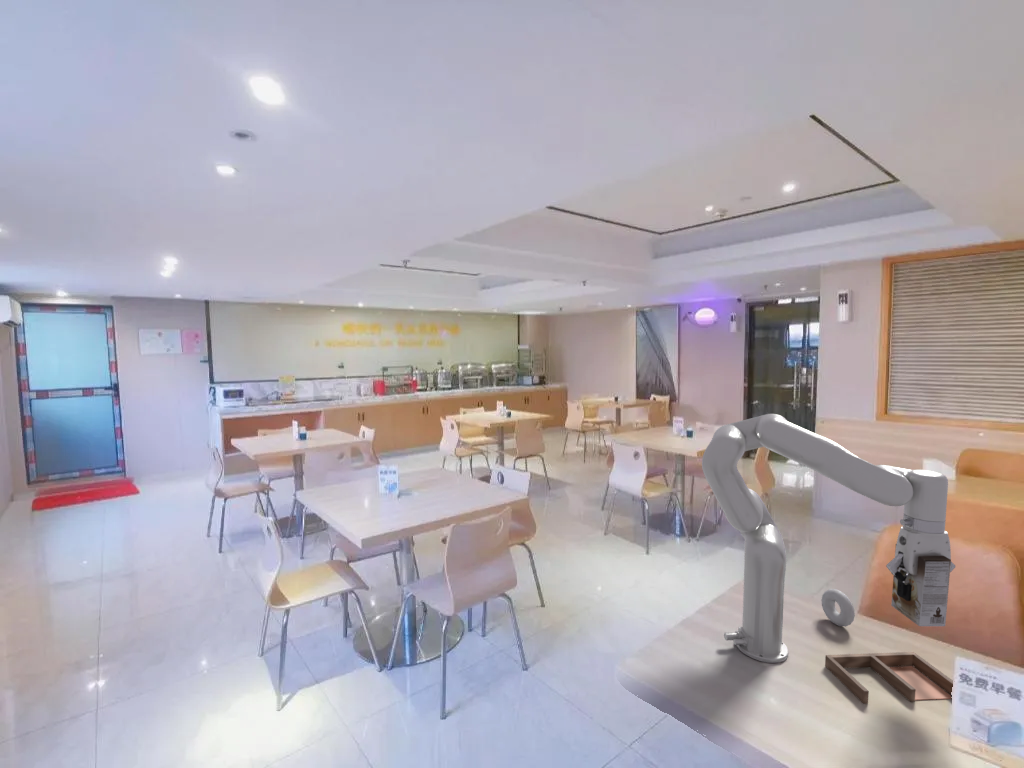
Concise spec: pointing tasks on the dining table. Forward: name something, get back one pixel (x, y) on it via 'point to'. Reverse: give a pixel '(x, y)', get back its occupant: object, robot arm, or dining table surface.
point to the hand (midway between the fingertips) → (918, 596)
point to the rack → (893, 674)
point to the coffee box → (926, 592)
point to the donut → (844, 603)
